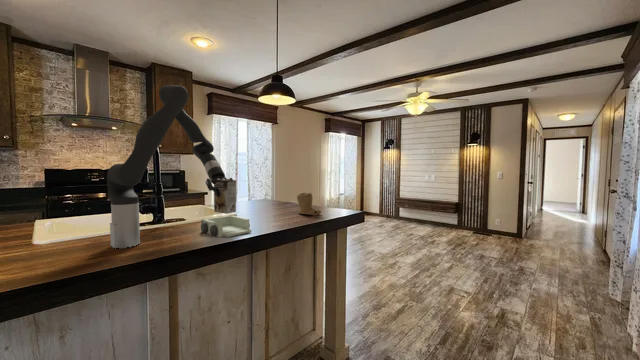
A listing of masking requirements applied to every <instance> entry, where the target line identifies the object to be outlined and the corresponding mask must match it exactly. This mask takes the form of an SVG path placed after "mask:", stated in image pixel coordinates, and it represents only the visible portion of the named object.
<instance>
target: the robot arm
mask: <svg viewBox="0 0 640 360" xmlns="http://www.w3.org/2000/svg"><path fill="white" fill-rule="evenodd" d="M158 97H159V99H160V101H161V102H162V105H163V106H162V107H161V108H159V110H157V111H155V112H154V113H152V114H151V115H150V116H149V117H147V118H146V120H145V121H144V122H143V123H142V125H141V126H140V127H139V129H138V131H137V132H136V136H135V139H134V147H133V149H132V152H131V154H129V157H127V159H126V160H125V161H124V162H123V163H116V164H112V166H111V167H109V168H108V170H107V176H106V184H107V194H108V197H109V200H110V209H111V211H110V214H111V222H110V223H109V228H110V229H109V233H110V235H109V237H110V247H111V246H112V247H111V248H112V249H114V248H115V249H114V250H117V249H116V248H119V249H127V247H129V248H132V246H134V247H136V245H137V246H139V245H140V244H141V237H140V236H141V234H140V233H141V231H140V201H139V200H140V199H139V195H137V193H136V192H135V190H134V186H136V185H137V184H139V183H140V181H141V180H142V178H143V176H144V174H145V172H146V169H147V167H148V165H149V162H150V161H151V159H152V157H153V156H154V154H155V153H156V150H157V149H158V147H159V146H160V144H161V143H162V141H163V139H164V138H165V137H166V134H167V132H168V131H169V129H170V127H171V126H172V124H173V123H174V121H175V120H176V121H177V122H178V124H179V125H180V126H181V128H182V129H183V131H184V132H185V135H186V136H187V138H188V139H189V141H190V142H191V143H192V144H195V145H193V146H192V153H193V155H194V156H196V158H197V159H198V160H200V162H201V163H202V165H203V167H204V170H205V173H206V175H207V176H208V178H206V180H205V186H206V187H207V189H208V191H210V192H211V191H213V194H214V193H215V195H216V196H217V197H219V196H220V192H219V190H218V189H217V186H216V184H215V187H214V180H234V179H233V178H232V177H230V178H227V177H226V175H225V172H224V169H223V168H222V166H221V165H220V163H219V162H218V160H217V158H216V156H215V155H214V154H213V153H214V150H215V148H214V145H213V144H212V143H211V141H210V140H208V139H207V137H205V135H204V133H203V132H202V130H201V129H200V128H201V127H200V126H199V124H198V123H197V122H196V121H195V120H194V119H193V118H192V117H191V116H190V115H188V114H187V113H186V111H185V110H184V107H185V106H186V105H187V103H188V101H189V91H188V90H187V89H186V87H184V86H182V85H169V84H168V85H163V86H161V87H160V88H159V90H158ZM138 244H139V245H138Z"/></svg>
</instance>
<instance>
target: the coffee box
mask: <svg viewBox="0 0 640 360" xmlns="http://www.w3.org/2000/svg"><path fill="white" fill-rule="evenodd" d="M215 184H216V186H217V189H218V190H219V192H220V196H219V197H217V196H216V195H215V193H214V192H213V204H214V207H213V209H214V210H213V211H214V213H220V214H232V213H233V214H234V213H237V180H236V179H235V180H234V179H233V180H214V184H213V187H215Z"/></svg>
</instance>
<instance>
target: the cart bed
mask: <svg viewBox="0 0 640 360" xmlns="http://www.w3.org/2000/svg"><path fill="white" fill-rule="evenodd" d="M250 223H251V222H250V218H244V217H241V216H237V215H232V214H231V215H224V216H223V215H222V216H216V217H211V218H203V219H201V224H200V231H201V233H203V234H209V235H211V236H212V237H218V238H223V237H227V238H229V237H234V236H238V235H243V234H247V233H248V234H249V233H251V232H252V229H251V228H250V227H251V224H250Z"/></svg>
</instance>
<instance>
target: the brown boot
mask: <svg viewBox="0 0 640 360" xmlns="http://www.w3.org/2000/svg"><path fill="white" fill-rule="evenodd" d="M296 199H297V203H298V206H299V208H300V209H299V210H298V211H297V214H303V215H306V216H318V215H320V214H321V213H322V210H318V209H314V208H313V194H312V192H309V191H308V192H302V193H298V194H296Z"/></svg>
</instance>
